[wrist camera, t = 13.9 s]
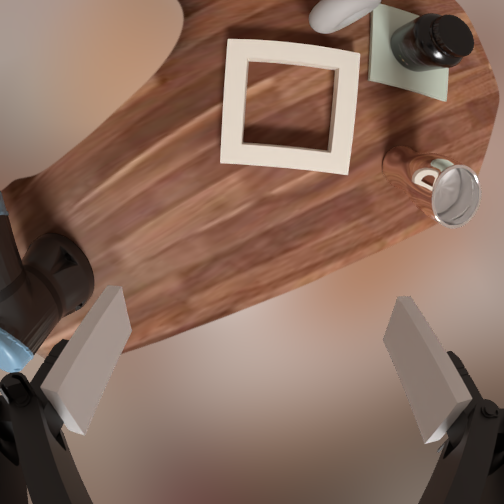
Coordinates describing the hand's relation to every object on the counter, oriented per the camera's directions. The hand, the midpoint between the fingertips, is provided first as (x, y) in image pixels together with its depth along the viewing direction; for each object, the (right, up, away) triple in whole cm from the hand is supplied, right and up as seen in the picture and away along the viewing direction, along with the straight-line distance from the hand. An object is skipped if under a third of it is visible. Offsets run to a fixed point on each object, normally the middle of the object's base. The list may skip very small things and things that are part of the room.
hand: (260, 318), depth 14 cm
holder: (+4, +22, +22) cm, 31 cm away
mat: (+21, +30, +16) cm, 40 cm away
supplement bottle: (+21, +30, +16) cm, 40 cm away
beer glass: (+20, +15, +24) cm, 35 cm away
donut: (+11, +33, +16) cm, 38 cm away
